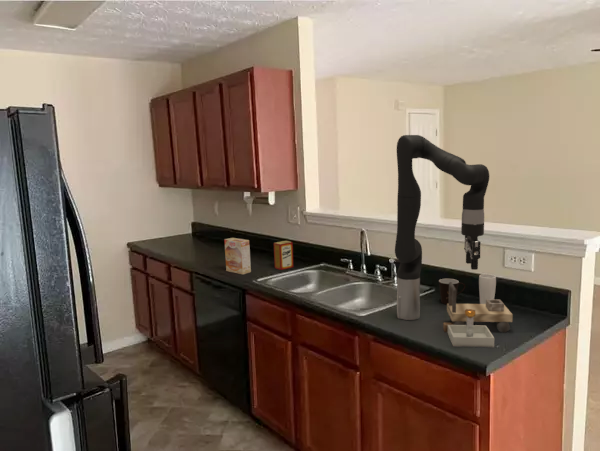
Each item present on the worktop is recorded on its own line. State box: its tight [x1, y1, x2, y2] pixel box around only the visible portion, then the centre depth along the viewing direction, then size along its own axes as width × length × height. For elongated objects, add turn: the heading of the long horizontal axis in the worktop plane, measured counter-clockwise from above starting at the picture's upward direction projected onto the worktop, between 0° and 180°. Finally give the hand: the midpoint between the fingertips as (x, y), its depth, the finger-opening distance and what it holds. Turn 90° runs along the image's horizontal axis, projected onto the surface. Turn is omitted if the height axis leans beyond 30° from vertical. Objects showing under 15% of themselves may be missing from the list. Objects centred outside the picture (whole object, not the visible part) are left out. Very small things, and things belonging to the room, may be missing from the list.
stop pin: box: [465, 309, 475, 337], centre depth 176 cm, size 4×4×10 cm
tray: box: [446, 324, 495, 348], centre depth 176 cm, size 14×12×4 cm
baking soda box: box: [273, 240, 294, 271], centre depth 291 cm, size 10×6×16 cm
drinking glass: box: [478, 273, 497, 304], centre depth 207 cm, size 7×7×15 cm
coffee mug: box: [438, 278, 466, 305], centre depth 217 cm, size 12×9×10 cm
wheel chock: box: [442, 322, 454, 333], centre depth 186 cm, size 4×3×3 cm
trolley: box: [446, 282, 514, 334], centre depth 188 cm, size 22×12×17 cm, turn 82°
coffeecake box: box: [223, 237, 252, 275], centre depth 286 cm, size 15×7×20 cm, turn 49°
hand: (471, 266), depth 172 cm, fingers open, 8 cm apart
